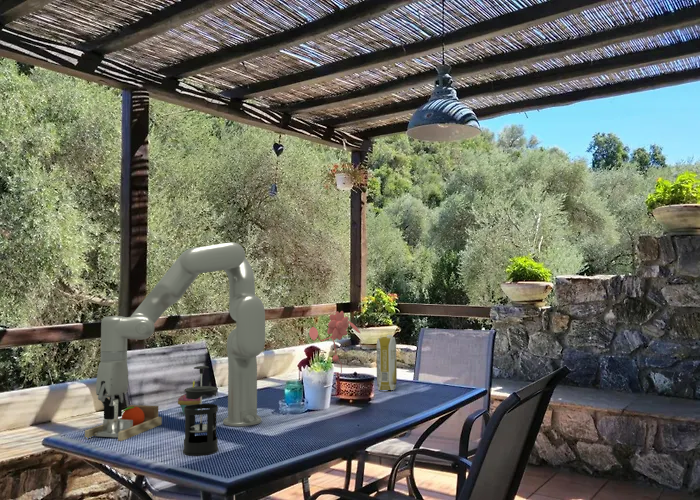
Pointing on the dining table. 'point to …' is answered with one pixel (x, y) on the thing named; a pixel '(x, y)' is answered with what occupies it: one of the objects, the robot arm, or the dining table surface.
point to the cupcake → (188, 400)
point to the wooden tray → (148, 423)
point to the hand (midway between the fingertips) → (112, 417)
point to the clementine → (133, 415)
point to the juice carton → (386, 363)
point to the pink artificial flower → (335, 330)
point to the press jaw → (114, 424)
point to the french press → (200, 443)
